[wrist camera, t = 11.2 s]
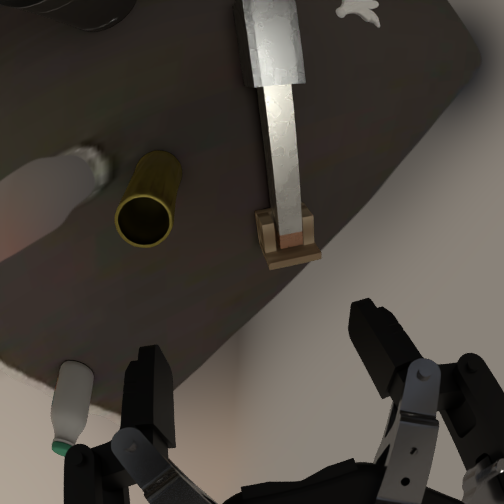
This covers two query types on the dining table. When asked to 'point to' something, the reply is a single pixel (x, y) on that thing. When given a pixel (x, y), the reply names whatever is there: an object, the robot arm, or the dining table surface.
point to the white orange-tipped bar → (281, 162)
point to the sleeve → (269, 42)
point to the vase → (149, 200)
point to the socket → (291, 254)
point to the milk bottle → (70, 404)
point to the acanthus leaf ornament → (359, 10)
